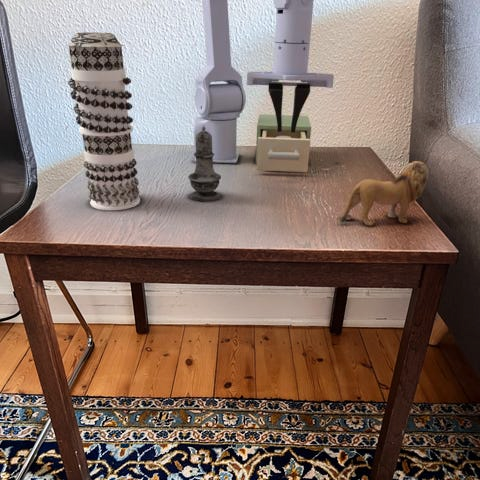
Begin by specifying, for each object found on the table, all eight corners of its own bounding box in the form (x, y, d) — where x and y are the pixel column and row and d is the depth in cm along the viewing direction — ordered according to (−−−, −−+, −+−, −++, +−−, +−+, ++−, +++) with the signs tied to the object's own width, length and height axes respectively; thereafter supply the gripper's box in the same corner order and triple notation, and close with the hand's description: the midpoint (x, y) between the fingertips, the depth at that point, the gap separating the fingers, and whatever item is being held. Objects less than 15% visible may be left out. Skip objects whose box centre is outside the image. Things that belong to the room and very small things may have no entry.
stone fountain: (225, 193, 86) (226, 124, 79) (214, 203, 81) (213, 130, 75) (196, 189, 88) (194, 121, 81) (183, 199, 83) (179, 127, 76)
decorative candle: (112, 190, 86) (91, 31, 72) (153, 199, 83) (139, 33, 69) (76, 204, 79) (45, 32, 66) (119, 214, 76) (96, 34, 62)
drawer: (308, 178, 92) (312, 145, 89) (256, 176, 93) (257, 143, 89) (304, 157, 106) (307, 127, 103) (259, 155, 107) (260, 126, 103)
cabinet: (307, 165, 104) (311, 126, 99) (255, 163, 104) (257, 125, 100) (304, 151, 115) (307, 115, 111) (257, 149, 116) (259, 114, 111)
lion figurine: (406, 210, 80) (418, 156, 75) (426, 221, 76) (440, 164, 71) (331, 219, 76) (338, 163, 71) (348, 231, 72) (357, 172, 67)
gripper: (246, 42, 73) (244, 134, 81) (339, 45, 72) (328, 137, 80) (248, 41, 79) (246, 126, 86) (335, 43, 78) (325, 129, 86)
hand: (286, 131), depth 84 cm, fingers closed
